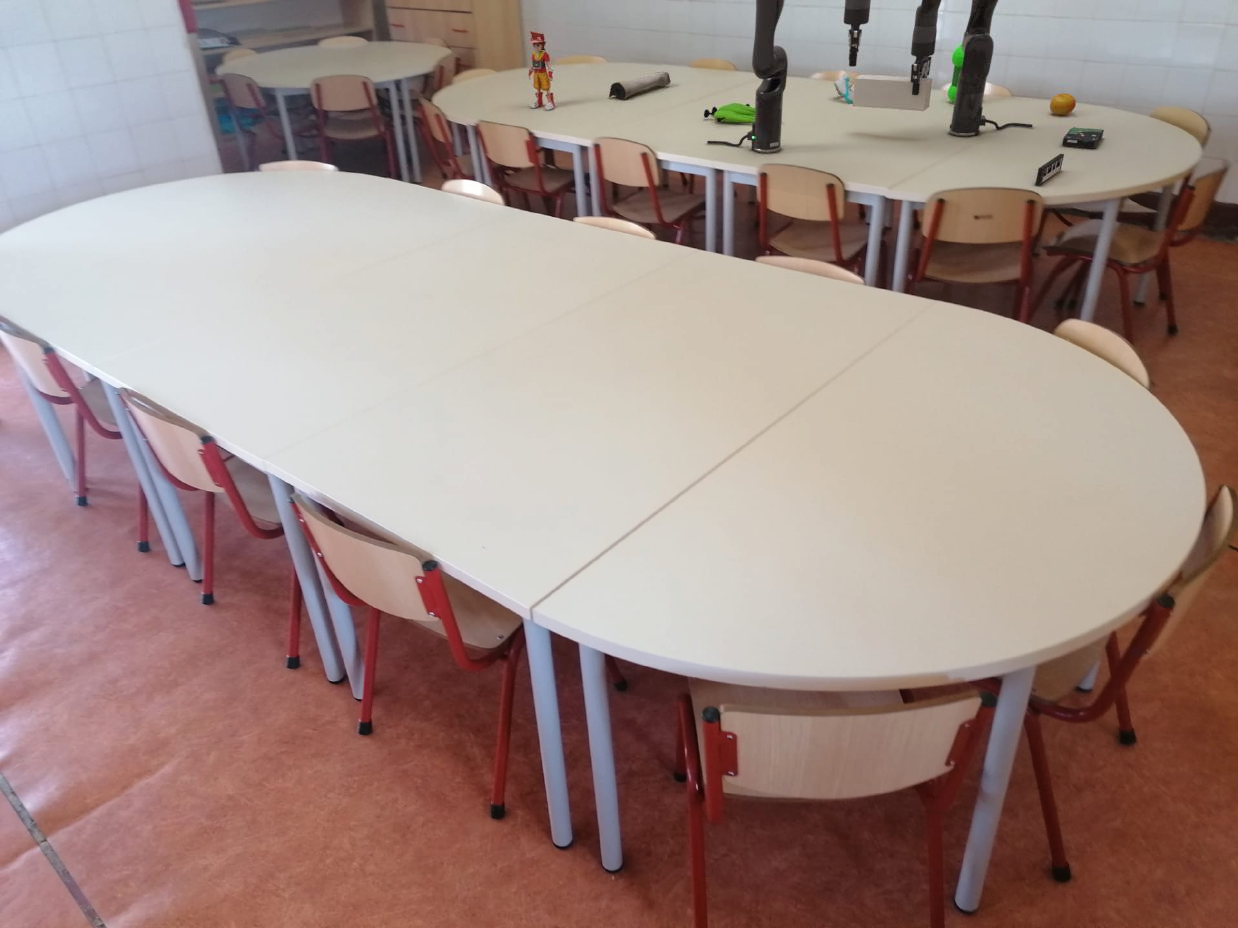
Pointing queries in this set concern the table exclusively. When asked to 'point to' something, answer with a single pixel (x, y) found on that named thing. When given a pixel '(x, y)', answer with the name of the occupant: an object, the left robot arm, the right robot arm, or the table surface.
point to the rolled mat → (638, 84)
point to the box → (891, 92)
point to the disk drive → (1083, 137)
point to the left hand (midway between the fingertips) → (852, 63)
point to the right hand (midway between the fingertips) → (918, 92)
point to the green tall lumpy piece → (956, 71)
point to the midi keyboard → (1049, 169)
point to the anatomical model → (844, 88)
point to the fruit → (1062, 104)
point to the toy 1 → (541, 71)
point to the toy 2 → (733, 113)
